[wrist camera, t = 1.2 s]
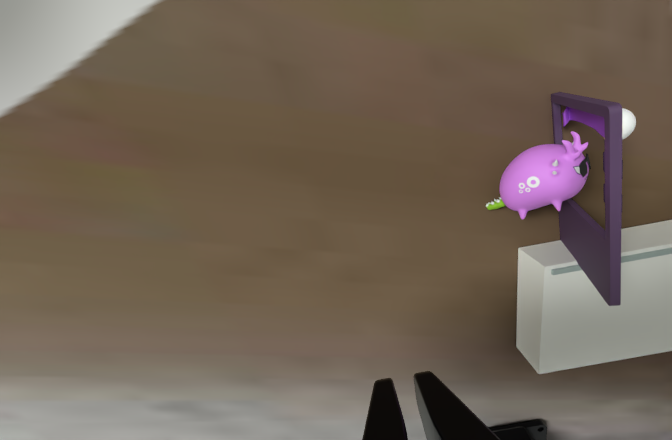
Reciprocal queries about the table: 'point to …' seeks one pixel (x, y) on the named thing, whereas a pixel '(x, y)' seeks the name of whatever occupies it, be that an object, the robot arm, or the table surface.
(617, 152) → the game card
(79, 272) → the table surface
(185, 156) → the table surface
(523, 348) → the slab
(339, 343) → the table surface
